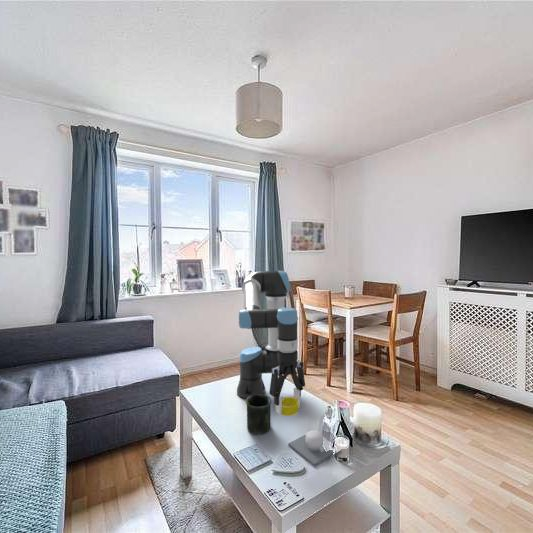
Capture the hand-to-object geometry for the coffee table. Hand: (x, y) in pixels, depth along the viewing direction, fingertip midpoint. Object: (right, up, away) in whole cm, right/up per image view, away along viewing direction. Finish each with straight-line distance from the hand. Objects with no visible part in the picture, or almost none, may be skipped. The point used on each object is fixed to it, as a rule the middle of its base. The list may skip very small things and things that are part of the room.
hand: (287, 409), depth 112 cm
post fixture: (+10, -15, +1) cm, 18 cm away
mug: (-12, -15, +16) cm, 25 cm away
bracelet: (0, -1, 0) cm, 1 cm away
